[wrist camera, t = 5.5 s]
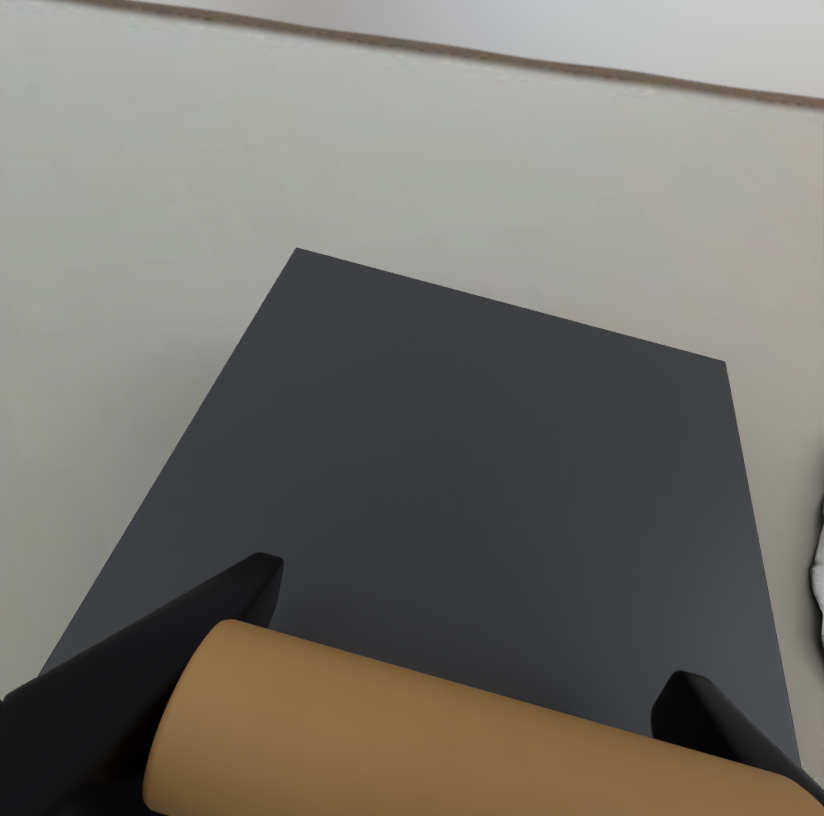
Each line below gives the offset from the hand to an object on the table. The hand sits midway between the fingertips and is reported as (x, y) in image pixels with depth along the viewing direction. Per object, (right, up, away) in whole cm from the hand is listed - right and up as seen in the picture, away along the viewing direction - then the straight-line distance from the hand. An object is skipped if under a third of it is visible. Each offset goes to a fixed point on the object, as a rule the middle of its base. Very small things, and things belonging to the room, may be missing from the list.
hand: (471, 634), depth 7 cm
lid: (0, +1, +3) cm, 3 cm away
